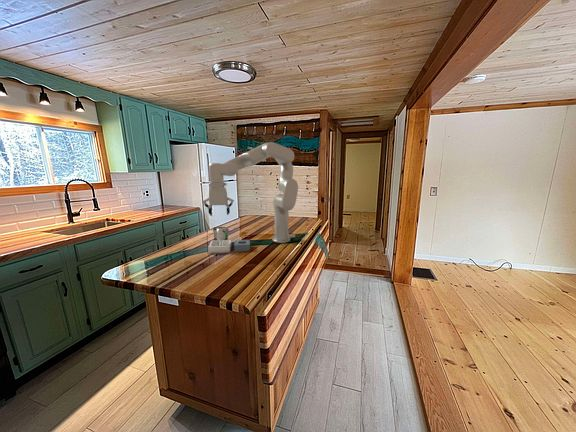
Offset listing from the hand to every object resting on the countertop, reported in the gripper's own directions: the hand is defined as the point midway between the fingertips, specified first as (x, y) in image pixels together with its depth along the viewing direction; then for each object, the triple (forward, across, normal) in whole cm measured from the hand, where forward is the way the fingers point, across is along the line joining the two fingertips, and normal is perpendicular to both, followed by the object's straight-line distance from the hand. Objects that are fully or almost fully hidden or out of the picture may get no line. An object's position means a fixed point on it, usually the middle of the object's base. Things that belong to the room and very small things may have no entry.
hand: (219, 214), depth 136 cm
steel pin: (+20, +1, 0) cm, 21 cm away
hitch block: (+22, -12, 0) cm, 25 cm away
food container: (+22, +1, -14) cm, 26 cm away
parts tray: (+22, +1, 0) cm, 22 cm away
